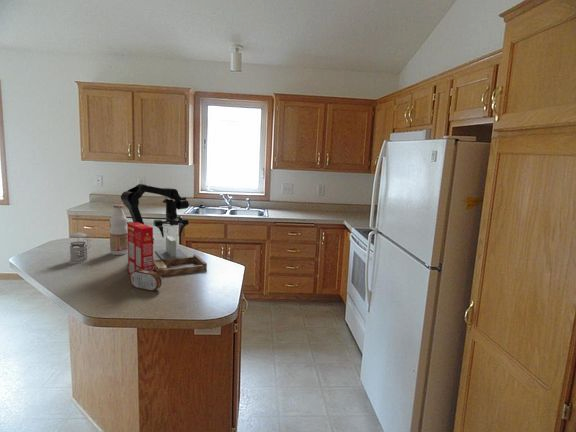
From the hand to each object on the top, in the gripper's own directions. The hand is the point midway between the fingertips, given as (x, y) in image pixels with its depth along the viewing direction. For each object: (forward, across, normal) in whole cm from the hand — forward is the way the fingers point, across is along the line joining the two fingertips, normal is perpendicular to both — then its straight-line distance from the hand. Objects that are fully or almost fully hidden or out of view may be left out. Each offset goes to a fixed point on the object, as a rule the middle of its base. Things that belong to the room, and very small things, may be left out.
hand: (171, 237), depth 217 cm
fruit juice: (+11, -26, +14) cm, 32 cm away
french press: (+11, -46, +6) cm, 48 cm away
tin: (+11, -23, -49) cm, 55 cm away
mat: (+11, 0, 0) cm, 11 cm away
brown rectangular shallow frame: (+11, -2, -26) cm, 28 cm away
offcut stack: (+11, -12, -26) cm, 31 cm away
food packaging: (+11, -22, -31) cm, 40 cm away
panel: (+10, 0, 0) cm, 10 cm away
